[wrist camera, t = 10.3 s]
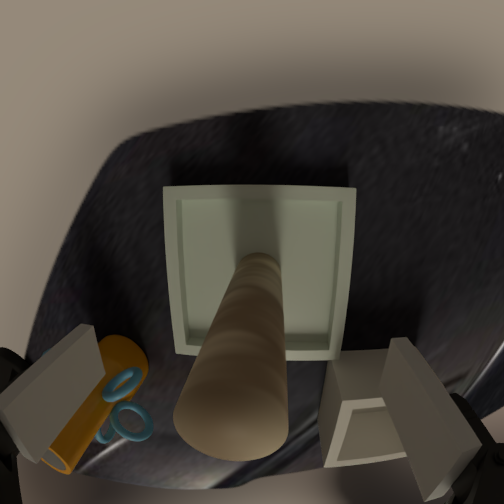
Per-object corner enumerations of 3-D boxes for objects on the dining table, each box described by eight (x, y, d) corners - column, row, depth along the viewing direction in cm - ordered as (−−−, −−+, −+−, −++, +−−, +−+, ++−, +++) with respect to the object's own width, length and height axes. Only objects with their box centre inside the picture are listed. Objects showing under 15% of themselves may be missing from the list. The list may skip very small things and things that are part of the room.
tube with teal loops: (74, 298, 27) (-27, 370, 12) (163, 311, 26) (75, 423, 11) (96, 389, 29) (33, 472, 15) (175, 408, 29) (129, 516, 14)
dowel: (235, 295, 24) (181, 454, 8) (235, 252, 23) (164, 380, 8) (280, 296, 24) (284, 462, 8) (281, 252, 23) (293, 389, 7)
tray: (182, 341, 26) (175, 353, 24) (172, 186, 23) (163, 186, 21) (334, 346, 25) (339, 359, 23) (348, 187, 22) (356, 188, 20)
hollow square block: (317, 418, 28) (323, 467, 21) (329, 351, 26) (342, 400, 19) (393, 411, 27) (411, 455, 20) (415, 346, 25) (444, 387, 18)
